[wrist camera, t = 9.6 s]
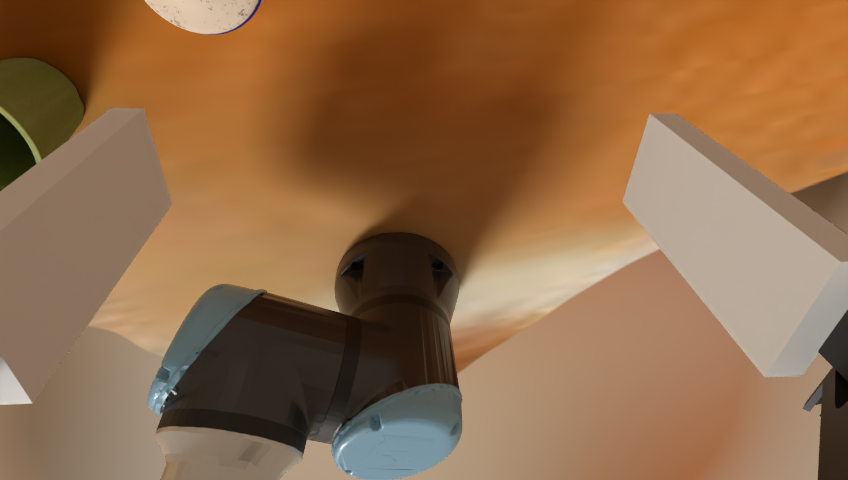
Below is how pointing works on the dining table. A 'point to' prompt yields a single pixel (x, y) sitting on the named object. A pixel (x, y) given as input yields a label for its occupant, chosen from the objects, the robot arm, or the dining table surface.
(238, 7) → the teacup with lid
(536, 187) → the dining table surface
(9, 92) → the plant pot
